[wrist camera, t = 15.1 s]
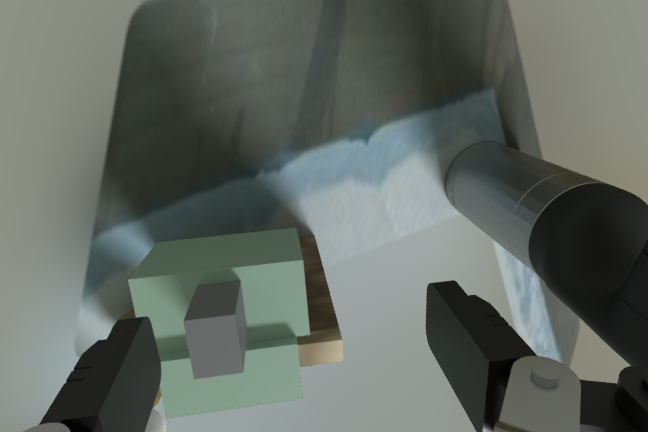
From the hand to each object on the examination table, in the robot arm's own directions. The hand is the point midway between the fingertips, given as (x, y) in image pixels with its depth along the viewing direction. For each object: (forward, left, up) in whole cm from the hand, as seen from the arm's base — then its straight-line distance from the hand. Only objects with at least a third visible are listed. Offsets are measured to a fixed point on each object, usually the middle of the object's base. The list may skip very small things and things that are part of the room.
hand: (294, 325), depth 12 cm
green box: (+5, +12, -24) cm, 28 cm away
